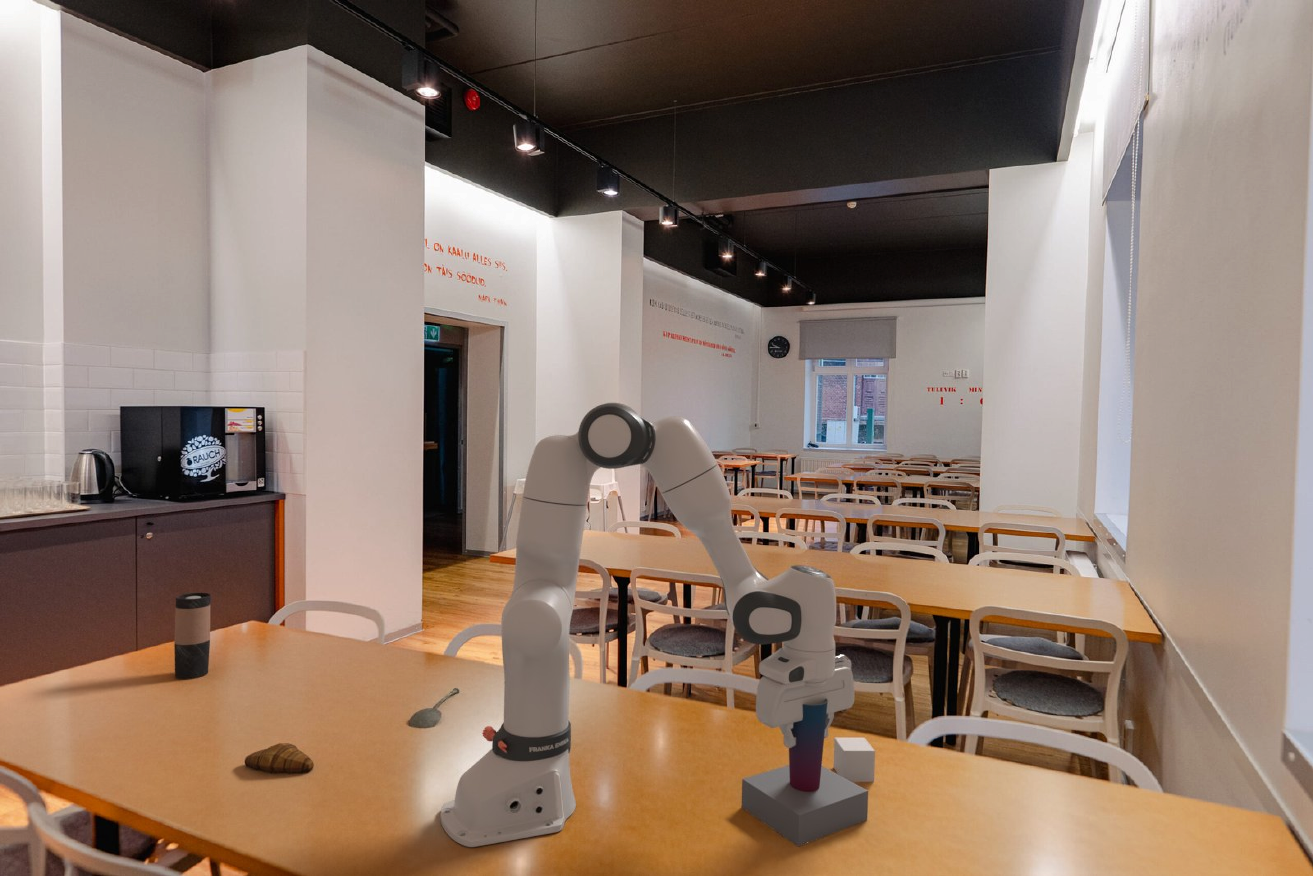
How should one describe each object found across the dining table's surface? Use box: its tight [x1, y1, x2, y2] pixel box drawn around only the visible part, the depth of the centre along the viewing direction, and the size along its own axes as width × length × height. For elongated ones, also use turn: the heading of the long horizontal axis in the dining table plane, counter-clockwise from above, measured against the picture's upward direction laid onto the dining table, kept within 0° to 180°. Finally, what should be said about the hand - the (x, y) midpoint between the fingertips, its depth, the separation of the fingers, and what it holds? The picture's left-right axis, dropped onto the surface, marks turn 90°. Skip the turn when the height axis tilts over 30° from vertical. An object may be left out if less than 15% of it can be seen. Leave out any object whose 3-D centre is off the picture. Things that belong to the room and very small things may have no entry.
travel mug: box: [173, 592, 211, 680], centre depth 187 cm, size 8×8×20 cm
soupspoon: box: [408, 687, 460, 729], centre depth 169 cm, size 22×3×7 cm
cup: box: [788, 698, 828, 792], centre depth 127 cm, size 7×7×15 cm
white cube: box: [833, 737, 876, 783], centre depth 142 cm, size 6×6×6 cm
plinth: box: [740, 764, 869, 847], centre depth 127 cm, size 16×14×5 cm
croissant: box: [244, 742, 315, 774], centre depth 138 cm, size 14×7×5 cm, turn 82°
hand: (805, 741), depth 127 cm, fingers closed on cup, 6 cm apart
